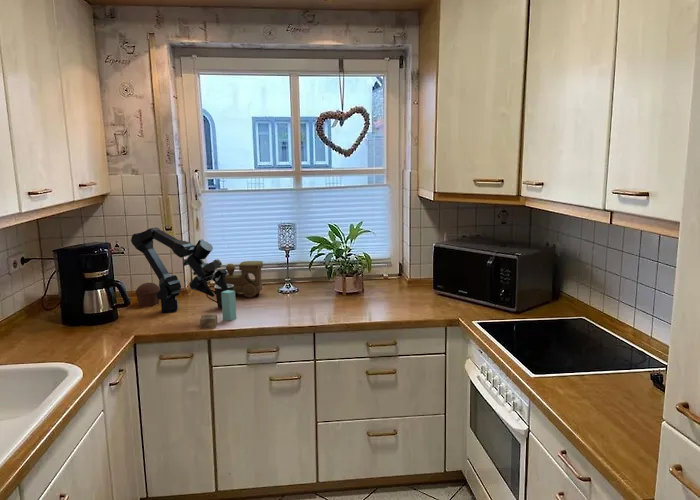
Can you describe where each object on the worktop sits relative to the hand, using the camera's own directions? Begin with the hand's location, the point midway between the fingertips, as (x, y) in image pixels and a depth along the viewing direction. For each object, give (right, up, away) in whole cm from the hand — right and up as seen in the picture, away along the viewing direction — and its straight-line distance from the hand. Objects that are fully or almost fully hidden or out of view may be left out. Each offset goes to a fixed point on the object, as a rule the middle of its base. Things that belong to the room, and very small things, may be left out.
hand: (221, 293), depth 225 cm
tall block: (+4, -11, 0) cm, 11 cm away
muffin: (-40, -7, +26) cm, 48 cm away
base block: (-3, -13, -8) cm, 15 cm away
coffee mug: (-4, -8, +18) cm, 20 cm away
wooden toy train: (+1, -4, +39) cm, 40 cm away
